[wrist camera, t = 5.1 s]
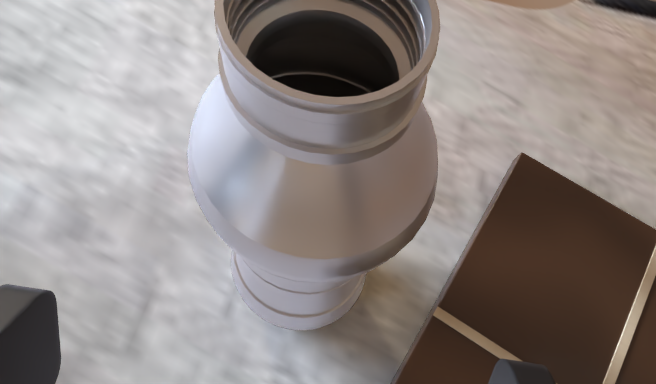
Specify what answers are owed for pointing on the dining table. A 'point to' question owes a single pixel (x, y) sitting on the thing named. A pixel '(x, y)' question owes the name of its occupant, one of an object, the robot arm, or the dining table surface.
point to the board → (545, 290)
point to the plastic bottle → (315, 147)
